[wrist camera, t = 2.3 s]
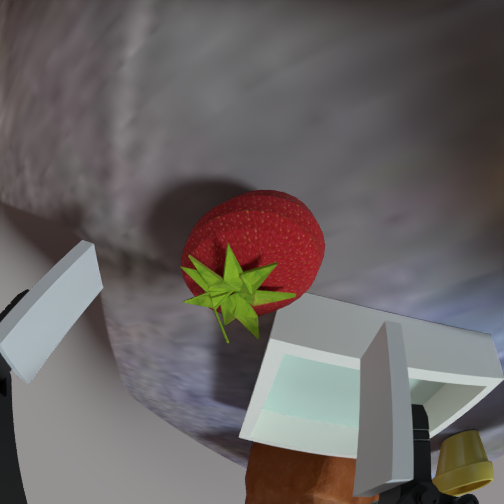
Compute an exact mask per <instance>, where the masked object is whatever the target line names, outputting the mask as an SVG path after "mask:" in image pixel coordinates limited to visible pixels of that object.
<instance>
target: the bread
mask: <svg viewBox="0 0 504 504" xmlns="http://www.w3.org/2000/svg"><path fill="white" fill-rule="evenodd" d="M356 460H357V459H354V458H345V457H336V456H328V455H321V454H314V453H308V452H302V451H297V450H291V449H286V448H281V447H276V446H272V445H267V444H263V443H259V442H255V443H253V445H252V447H251V451H250V456H249V461H248V466H247V471H246V476H245V484H246V500H245V504H369V503H371V502H374V501H377V500H379V494H378V495H375V496H373V497H353V490H354V481H355V471H356Z"/></svg>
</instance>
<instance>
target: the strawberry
mask: <svg viewBox="0 0 504 504" xmlns="http://www.w3.org/2000/svg"><path fill="white" fill-rule="evenodd" d="M324 250H325V242H324V237H323V233H322V231H321V229H320V226H319V224H318V222H317V221H316V219H315V217H314V216H313V214H312V213H311V211H310V210H309V209H308V207H307V206H306V205H305V204H304V203H303V202H301V201H300V200H298V199H297V198H296V197H294V196H291V195H289V194H287V193H284V192H279V191H275V190H256V191H250V192H246V193H243V194H240V195H237V196H235V197H233V198H231V199H230V200H228V201H226V202H224V203H222V204H220V205H218V206H216V207H215V208H213V209H211V210H210V211H209V212H208V213H206V214H205V215H204V216H202V217H201V219H200V220H199V221H198V222H197V223H196V225H195V226H194V227H193V229H192V231H191V233H190V235H189V237H188V239H187V242H186V245H185V247H184V250H183V254H182V258H181V270H182V275H183V278H184V280H185V282H186V285H187V286H188V288H189V289H190V291H191V292H192V293H193V295H194V296H195V297H192V298H190V299H187V300H185V301H183V302H184V303H189V304H194V305H199V306H204V307H208V308H210V309H212V310H214V312H215V315H216V318H217V320H218V323H219V325H220V328H221V330H222V333H223V335H224V337H225V340H226V342H227V343H229V341H228V338H227V336H226V333H225V331H224V328H223V326H222V323H221V321H220V318H219V316H218V313H217V312H219V313H222V315H223V320H224V325H225V326H226V325H227V324H229V323H230V322H232V321H233V320H234V319H236V318H237V319H238V320H239V321H240V322H241V323H242V324H243V325H244V326H245V327H246V328H247V329H248V330H249V331H250V332H251V333H252V334H253V335H254V336H255V337H256V338H257V339H259V338H260V337H259V324H258V316H260V315H264V314H267V313H271V312H274V311H276V310H279V309H281V308H283V307H285V306H288V305H290V304H291V303H293V302H294V301H296V300H297V299H299V298H300V297H301V296H302V295H303V294H304V293H305V292H306V291H307V290H308V289H309V288H310V286H311V285H312V283H313V282H314V280H315V277H316V275H317V273H318V270H319V268H320V265H321V263H322V260H323V257H324Z"/></svg>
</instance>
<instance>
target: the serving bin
mask: <svg viewBox="0 0 504 504" xmlns="http://www.w3.org/2000/svg"><path fill="white" fill-rule="evenodd" d="M385 320H387V321H391V322H396V323H401V327H402V333H403V339H404V346H405V353H406V360H407V368H408V377H409V386H410V397H411V404H420V405H423V406H424V409H425V411H426V413H427V415H428V421H429V434H430V438H432V437H433V436H435V435H436V434H438V433H439V432H440V431H442V430H443V429H445V428H446V427H447V426H449V425H450V424H452V423H453V422H454V421H456V420H457V419H458V418H459V417H461V416H462V415H463V414H465V413H466V412H467V411H468V410H470V409H471V408H472V407H473V406H474V405H476V404H477V403H478V402H479V401H480V400H482V399H483V398H484V397H485V396H486V395H487V394H488V393H490V392H491V391H492V390H493V389H494V388H495V387H496V386H497V385H498V384H499V383H501V382H502V381H503V380H504V375H503V371H502V368H501V364H500V361H499V358H498V354H497V351H496V348H495V345H494V342H493V339H492V336H491V335H490V334H486V333H481V332H476V331H471V330H466V329H461V328H456V327H452V326H447V325H442V324H438V323H433V322H429V321H424V320H420V319H415V318H411V317H406V316H402V315H397V314H393V313H389V312H384V311H380V310H376V309H371V308H367V307H363V306H359V305H355V304H350V303H346V302H342V301H338V300H334V299H330V298H326V297H322V296H317V295H313V294H309V293H304V294H303V295H302V296H301V297H300V298H299V299H297V300H296V301H294V302H293V303H291V304H290V305H288V306H285V307H283V308H281V309H279V310H276V314H275V318H274V321H273V325H272V328H271V332H270V335H269V338H268V342H267V345H266V349H265V352H264V355H263V359H262V362H261V365H260V369H259V372H258V375H257V379H256V382H255V385H254V388H253V392H252V395H251V398H250V401H249V404H248V408H247V411H246V415H245V418H244V421H243V425H242V428H241V431H240V434H239V438H243V439H247V440H250V441H254V442H259V443H263V444H267V445H272V446H276V447H281V448H286V449H291V450H297V451H302V452H308V453H314V454H321V455H328V456H336V457H345V458H354V459H357V448H358V432H359V410H360V359H361V357H362V356H363V354H364V353H365V351H366V350H367V348H368V347H369V345H370V344H371V342H372V340H373V339H374V337H375V336H376V334H377V333H378V331H379V329H380V328H381V326H382V324H383V323H384V321H385Z"/></svg>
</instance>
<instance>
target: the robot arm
mask: <svg viewBox="0 0 504 504" xmlns="http://www.w3.org/2000/svg"><path fill="white" fill-rule="evenodd" d="M102 289H103V285H102V281H101V276H100V272H99V267H98V262H97V257H96V252H95V247H94V244H93V243H90V242H87V241H83V240H82V241H81V242H80V243H78V244H77V245H76V246H75V247H74V248H73V249H72V250H71V251H70V252H69V253H67V254H66V255H65V257H63V258H62V259H61V260H60V261H59V262H58V263H57V264H56V265H55V266H54V267H53V268H52V269H51V270H50V271H49V272H48V273H47V274H46V275H45V276H44V277H42V279H41V280H40V281H39V282H38V283H37V284H36V285H35V286H34V287H33V288H32V289H31V290H28V289H27V290H25V291H23V292H22V293H20V294H18V295H17V296H16V297H15V298H14V299H13V300H12V301H11V304H9V305H8V306H7V307H6V308H5V310H4V311H2V313H1V314H0V504H27V500H26V496H25V492H24V488H23V483H22V478H21V473H20V468H19V463H18V457H17V449H16V443H15V433H14V423H13V410H12V387H11V374H10V373H9V372H10V371H11V369H12V370H13V371H14V373H15V374H16V375H17V376H18V377H19V378H20V379H21V380H23V381H24V382H25V383H27V384H28V385H29V384H30V382H31V381H32V379H33V378H34V377H35V375H36V374H37V372H38V371H39V369H40V368H41V367H42V365H43V364H44V362H45V361H46V360H47V358H48V357H49V356H50V354H51V353H52V351H53V350H54V349H55V348H56V346H57V345H58V344H59V342H60V341H61V339H62V338H63V337H64V336H65V334H66V333H67V332H68V330H69V329H70V328H71V327H72V325H73V324H74V323H75V322H76V320H77V319H78V318H79V316H80V315H81V314H82V313H83V311H84V310H85V309H86V308H87V307H88V305H89V304H90V303H91V302H92V301H93V299H94V298H95V297H96V296H97V294H98V293H99V292H100V291H101V290H102ZM429 440H430V434H429V421H428V415H427V413H426V411H425V409H424V406H423V405H420V404H411V397H410V386H409V377H408V368H407V360H406V353H405V346H404V339H403V333H402V327H401V323H396V322H391V321H387V320H385V321H384V323H383V324H382V326H381V328H380V329H379V331H378V333H377V334H376V336H375V337H374V339H373V340H372V342H371V344H370V345H369V347H368V348H367V350H366V351H365V353H364V354H363V356H362V357H361V359H360V410H359V432H358V448H357V460H356V471H355V481H354V490H353V497H373V496H375V495H378V494H379V500H377V501H374V502H371V503H369V504H479V502H478V500H477V498H476V497H475V496H474V495H473V494H466V495H463V496H461V497H456V496H452V495H448V494H445V493H442V492H440V491H439V490H438V488H437V487H436V485H434V484H433V482H432V478H431V452H430V442H429Z"/></svg>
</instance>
